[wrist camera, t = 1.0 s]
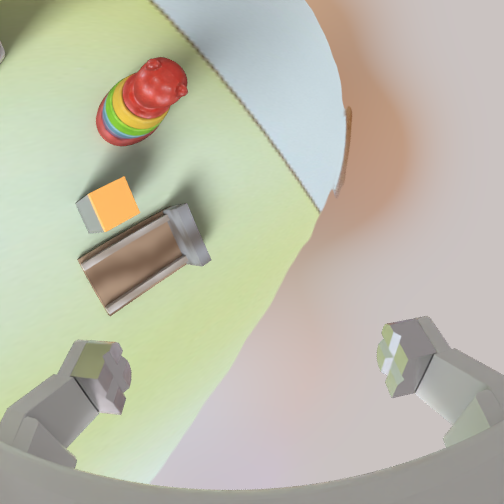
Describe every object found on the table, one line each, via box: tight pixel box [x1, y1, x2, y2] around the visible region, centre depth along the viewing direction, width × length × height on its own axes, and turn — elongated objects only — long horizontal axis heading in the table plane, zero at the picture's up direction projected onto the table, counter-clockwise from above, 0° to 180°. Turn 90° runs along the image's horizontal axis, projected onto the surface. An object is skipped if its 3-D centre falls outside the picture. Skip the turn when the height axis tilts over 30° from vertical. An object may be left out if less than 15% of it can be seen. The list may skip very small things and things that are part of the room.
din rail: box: [77, 203, 211, 316], centre depth 44 cm, size 10×18×6 cm, turn 115°
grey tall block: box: [76, 176, 140, 233], centre depth 37 cm, size 5×5×11 cm
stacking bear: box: [96, 57, 188, 146], centre depth 36 cm, size 11×10×18 cm
